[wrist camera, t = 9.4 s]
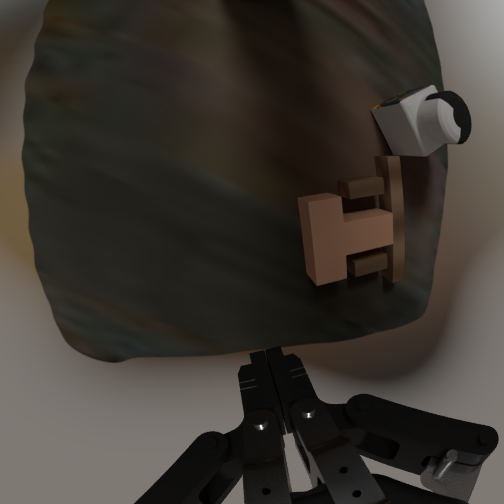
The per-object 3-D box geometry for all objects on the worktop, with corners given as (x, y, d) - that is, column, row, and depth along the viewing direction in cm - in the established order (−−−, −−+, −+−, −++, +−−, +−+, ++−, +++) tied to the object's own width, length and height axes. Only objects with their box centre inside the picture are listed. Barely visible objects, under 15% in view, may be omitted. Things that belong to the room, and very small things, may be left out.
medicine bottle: (402, 91, 31) (461, 78, 19) (423, 135, 33) (484, 136, 22) (369, 109, 31) (428, 95, 20) (392, 156, 33) (454, 160, 22)
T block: (297, 197, 34) (307, 202, 30) (374, 185, 34) (391, 189, 31) (306, 273, 37) (316, 285, 33) (377, 256, 38) (393, 265, 34)
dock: (334, 160, 33) (345, 161, 30) (386, 155, 33) (399, 155, 30) (346, 285, 38) (355, 294, 35) (392, 271, 39) (403, 279, 36)
